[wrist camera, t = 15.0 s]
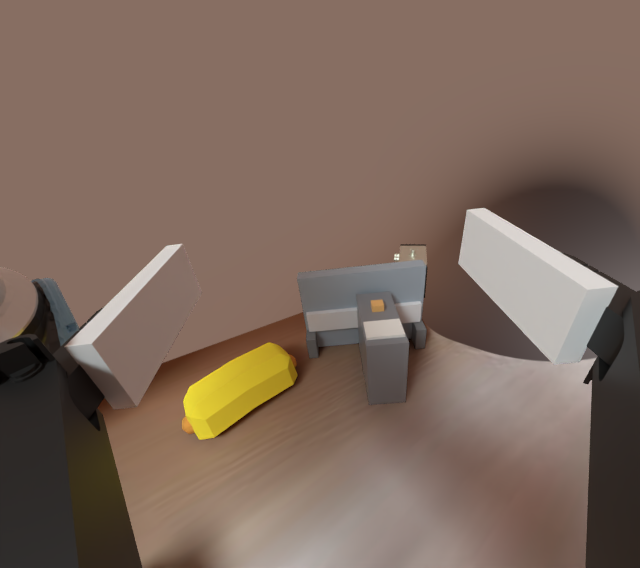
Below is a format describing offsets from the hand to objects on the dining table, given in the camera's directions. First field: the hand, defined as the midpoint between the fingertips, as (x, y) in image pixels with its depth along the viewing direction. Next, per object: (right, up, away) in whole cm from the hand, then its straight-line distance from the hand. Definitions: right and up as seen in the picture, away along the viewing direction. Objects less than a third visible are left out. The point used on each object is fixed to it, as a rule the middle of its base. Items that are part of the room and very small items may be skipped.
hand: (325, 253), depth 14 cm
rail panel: (+7, -12, +36) cm, 38 cm away
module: (+9, -15, +30) cm, 35 cm away
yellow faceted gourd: (-11, -19, +30) cm, 37 cm away
